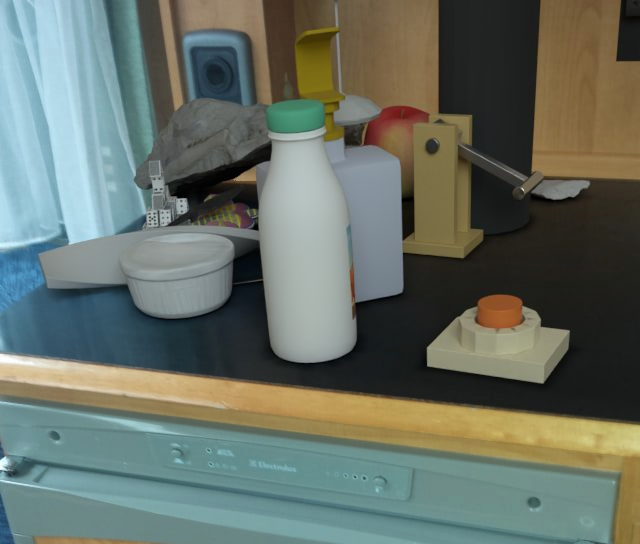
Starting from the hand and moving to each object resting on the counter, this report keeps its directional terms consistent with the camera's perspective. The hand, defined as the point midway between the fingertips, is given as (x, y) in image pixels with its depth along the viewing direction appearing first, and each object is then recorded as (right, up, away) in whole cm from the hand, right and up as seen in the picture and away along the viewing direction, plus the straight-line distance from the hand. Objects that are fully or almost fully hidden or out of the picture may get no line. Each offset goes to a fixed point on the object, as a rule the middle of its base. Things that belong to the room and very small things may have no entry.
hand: (634, 59), depth 82 cm
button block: (-11, -24, +3) cm, 26 cm away
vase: (-7, -2, +33) cm, 34 cm away
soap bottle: (-24, -15, +17) cm, 33 cm away
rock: (-29, +12, +34) cm, 46 cm away
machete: (-39, -3, +29) cm, 49 cm away
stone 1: (-37, +6, +42) cm, 56 cm away
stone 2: (+3, +3, +38) cm, 39 cm away
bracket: (-12, -7, +27) cm, 30 cm away
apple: (-15, +4, +42) cm, 45 cm away
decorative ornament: (-32, -1, +34) cm, 46 cm away
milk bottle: (-26, -22, +8) cm, 35 cm away
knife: (-33, -13, +20) cm, 41 cm away
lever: (-10, -1, +20) cm, 23 cm away
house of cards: (-42, -1, +38) cm, 56 cm away
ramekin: (-39, -15, +18) cm, 46 cm away
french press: (-23, -6, +29) cm, 37 cm away
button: (-11, -21, +1) cm, 24 cm away
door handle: (-40, -9, +20) cm, 46 cm away
